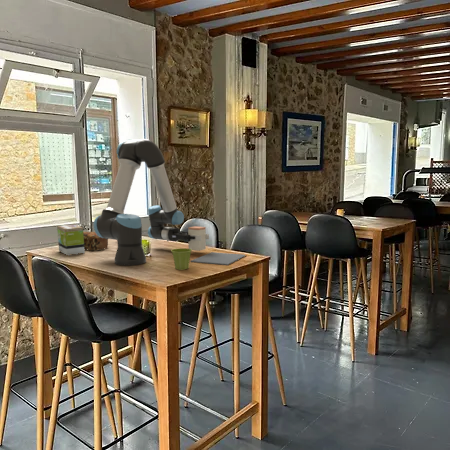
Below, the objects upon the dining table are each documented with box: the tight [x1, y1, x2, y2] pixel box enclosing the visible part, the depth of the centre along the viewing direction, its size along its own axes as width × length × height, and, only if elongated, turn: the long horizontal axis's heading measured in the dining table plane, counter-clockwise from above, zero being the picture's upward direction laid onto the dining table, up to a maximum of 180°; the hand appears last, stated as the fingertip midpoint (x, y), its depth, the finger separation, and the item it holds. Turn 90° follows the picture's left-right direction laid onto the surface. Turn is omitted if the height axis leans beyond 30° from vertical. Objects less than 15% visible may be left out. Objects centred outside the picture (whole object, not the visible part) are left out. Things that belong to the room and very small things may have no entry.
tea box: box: [56, 224, 85, 256], centre depth 236 cm, size 15×10×15 cm
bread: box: [83, 231, 109, 251], centre depth 248 cm, size 19×11×10 cm, turn 71°
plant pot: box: [170, 248, 193, 271], centre depth 196 cm, size 9×9×9 cm
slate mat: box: [190, 251, 246, 266], centre depth 217 cm, size 24×20×1 cm
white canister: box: [187, 225, 207, 252], centre depth 231 cm, size 6×7×12 cm
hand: (204, 237), depth 228 cm, fingers closed on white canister, 6 cm apart
